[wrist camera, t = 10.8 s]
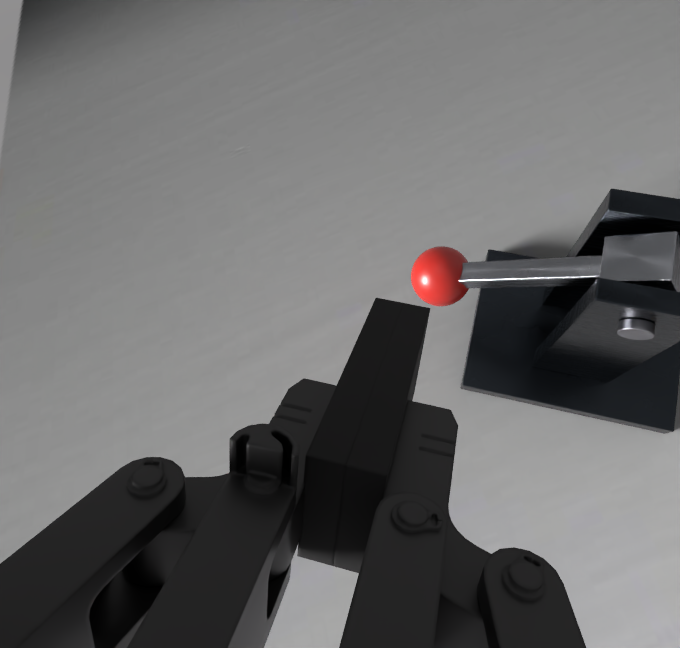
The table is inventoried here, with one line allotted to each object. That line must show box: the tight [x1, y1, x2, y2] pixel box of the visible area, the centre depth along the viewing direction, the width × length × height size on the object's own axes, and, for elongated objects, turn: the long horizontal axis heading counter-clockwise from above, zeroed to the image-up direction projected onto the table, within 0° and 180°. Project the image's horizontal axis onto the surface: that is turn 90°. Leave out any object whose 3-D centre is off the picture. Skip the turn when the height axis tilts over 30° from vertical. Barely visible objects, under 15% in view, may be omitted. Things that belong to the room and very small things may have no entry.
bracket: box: [461, 189, 680, 433], centre depth 30 cm, size 12×9×14 cm
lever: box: [411, 231, 680, 306], centre depth 29 cm, size 13×3×3 cm
